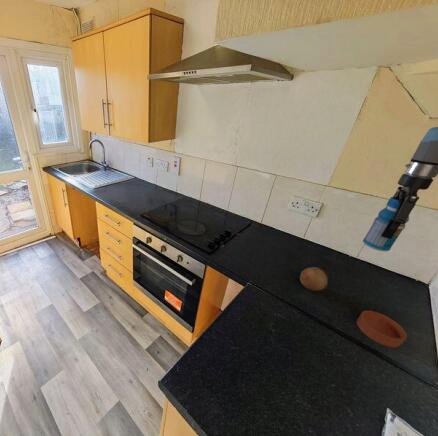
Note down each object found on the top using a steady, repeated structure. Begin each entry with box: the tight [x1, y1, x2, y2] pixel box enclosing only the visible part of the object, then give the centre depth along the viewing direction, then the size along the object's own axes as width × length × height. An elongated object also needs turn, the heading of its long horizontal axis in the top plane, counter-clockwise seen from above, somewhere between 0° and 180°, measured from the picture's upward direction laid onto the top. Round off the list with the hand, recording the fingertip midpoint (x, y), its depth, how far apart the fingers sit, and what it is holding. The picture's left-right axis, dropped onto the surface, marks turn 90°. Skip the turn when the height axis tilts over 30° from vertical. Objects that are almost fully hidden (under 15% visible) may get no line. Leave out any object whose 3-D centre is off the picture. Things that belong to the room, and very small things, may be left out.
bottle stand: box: [356, 310, 408, 348], centre depth 79 cm, size 12×12×4 cm
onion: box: [299, 266, 329, 292], centre depth 96 cm, size 10×10×10 cm
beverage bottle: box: [362, 196, 417, 252], centre depth 86 cm, size 8×8×20 cm
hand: (383, 232), depth 88 cm, fingers closed on beverage bottle, 8 cm apart
